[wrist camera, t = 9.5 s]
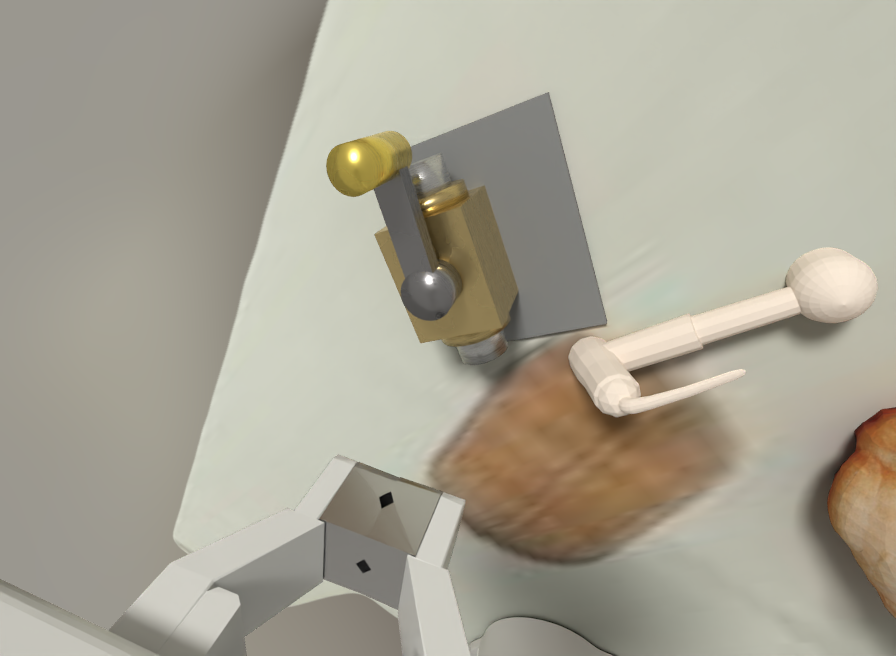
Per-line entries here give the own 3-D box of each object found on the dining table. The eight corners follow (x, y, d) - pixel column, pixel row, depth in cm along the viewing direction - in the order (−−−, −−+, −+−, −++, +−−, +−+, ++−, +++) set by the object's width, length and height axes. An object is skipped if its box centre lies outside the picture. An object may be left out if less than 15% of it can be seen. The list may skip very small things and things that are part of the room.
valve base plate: (606, 321, 35) (606, 323, 34) (459, 347, 40) (457, 350, 39) (548, 92, 29) (547, 92, 28) (384, 157, 34) (382, 158, 34)
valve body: (529, 325, 36) (515, 367, 31) (459, 338, 39) (435, 379, 34) (470, 140, 31) (442, 154, 26) (393, 169, 34) (354, 187, 29)
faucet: (808, 273, 33) (944, 315, 24) (582, 387, 37) (624, 462, 27) (790, 224, 32) (925, 247, 23) (558, 345, 36) (594, 409, 26)
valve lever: (468, 301, 30) (440, 344, 25) (422, 308, 31) (388, 350, 26) (413, 122, 26) (369, 134, 21) (364, 139, 27) (311, 153, 22)
